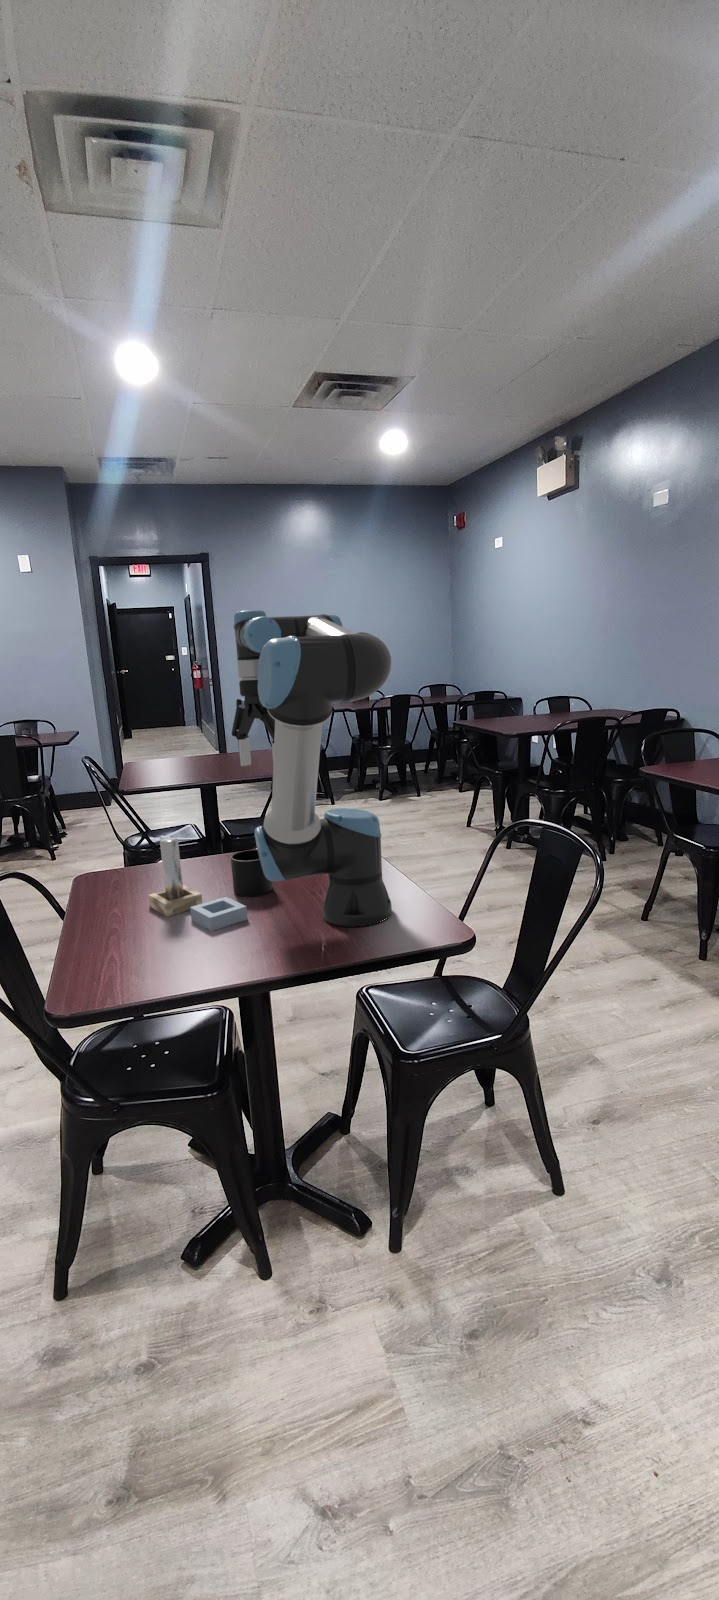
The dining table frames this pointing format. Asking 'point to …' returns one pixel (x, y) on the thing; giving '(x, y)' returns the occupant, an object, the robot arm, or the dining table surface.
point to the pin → (171, 868)
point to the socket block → (218, 913)
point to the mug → (249, 874)
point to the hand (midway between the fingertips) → (262, 767)
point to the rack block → (175, 901)
